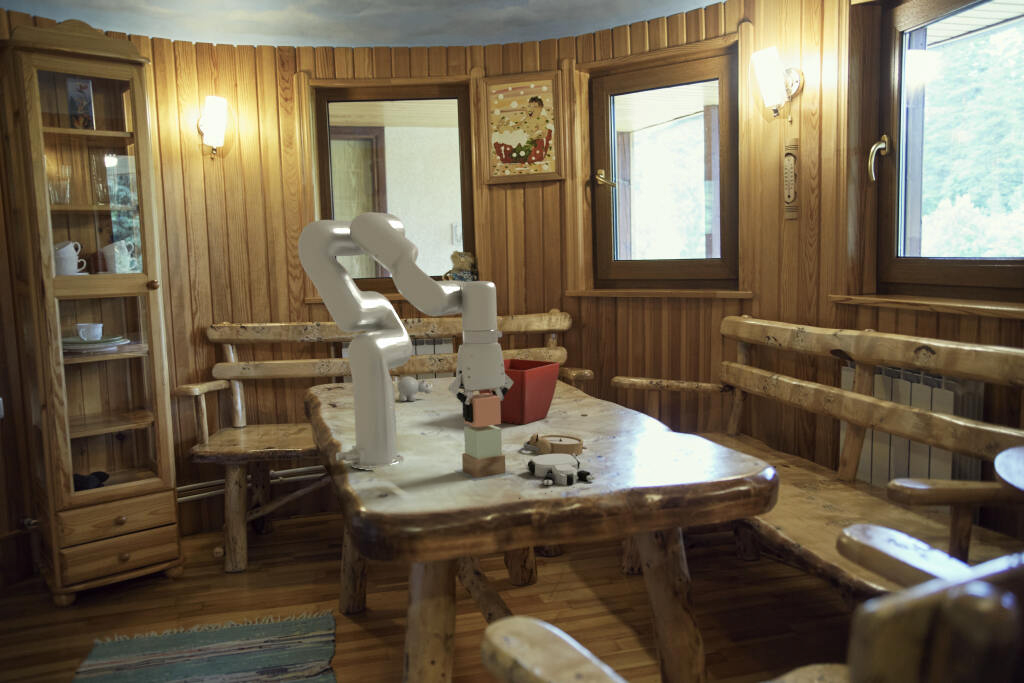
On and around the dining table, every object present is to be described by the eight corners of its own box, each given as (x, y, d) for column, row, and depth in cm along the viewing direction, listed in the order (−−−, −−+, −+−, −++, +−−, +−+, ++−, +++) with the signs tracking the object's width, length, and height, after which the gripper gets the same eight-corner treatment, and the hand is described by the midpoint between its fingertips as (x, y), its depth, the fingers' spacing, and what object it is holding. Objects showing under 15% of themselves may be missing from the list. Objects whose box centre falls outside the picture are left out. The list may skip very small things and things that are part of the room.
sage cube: (477, 459, 170) (476, 431, 169) (465, 453, 175) (464, 427, 174) (501, 455, 173) (501, 428, 172) (488, 449, 178) (488, 423, 177)
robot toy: (598, 491, 165) (572, 468, 179) (599, 470, 164) (573, 449, 178) (543, 497, 161) (521, 474, 175) (543, 476, 160) (521, 454, 175)
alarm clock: (591, 444, 191) (533, 438, 187) (588, 464, 191) (530, 458, 187) (574, 434, 202) (519, 429, 197) (571, 453, 202) (516, 448, 198)
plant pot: (524, 428, 223) (523, 369, 221) (473, 421, 235) (471, 365, 233) (562, 417, 238) (561, 362, 236) (511, 411, 250) (510, 358, 248)
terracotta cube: (476, 427, 169) (475, 399, 169) (464, 422, 174) (463, 395, 174) (500, 423, 172) (500, 396, 171) (488, 419, 177) (487, 393, 177)
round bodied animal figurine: (433, 401, 271) (432, 376, 270) (398, 403, 269) (397, 378, 268) (431, 397, 278) (431, 373, 277) (397, 399, 276) (396, 375, 275)
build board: (474, 485, 168) (474, 480, 168) (453, 475, 176) (453, 470, 176) (514, 478, 173) (514, 473, 172) (493, 468, 181) (492, 464, 181)
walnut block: (477, 478, 170) (476, 459, 169) (462, 471, 176) (462, 453, 175) (505, 473, 173) (505, 455, 173) (490, 466, 179) (489, 449, 179)
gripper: (506, 334, 179) (508, 412, 181) (436, 339, 170) (439, 421, 172) (523, 336, 172) (525, 417, 174) (451, 342, 164) (454, 427, 166)
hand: (482, 418), depth 173 cm, fingers closed on terracotta cube, 6 cm apart
